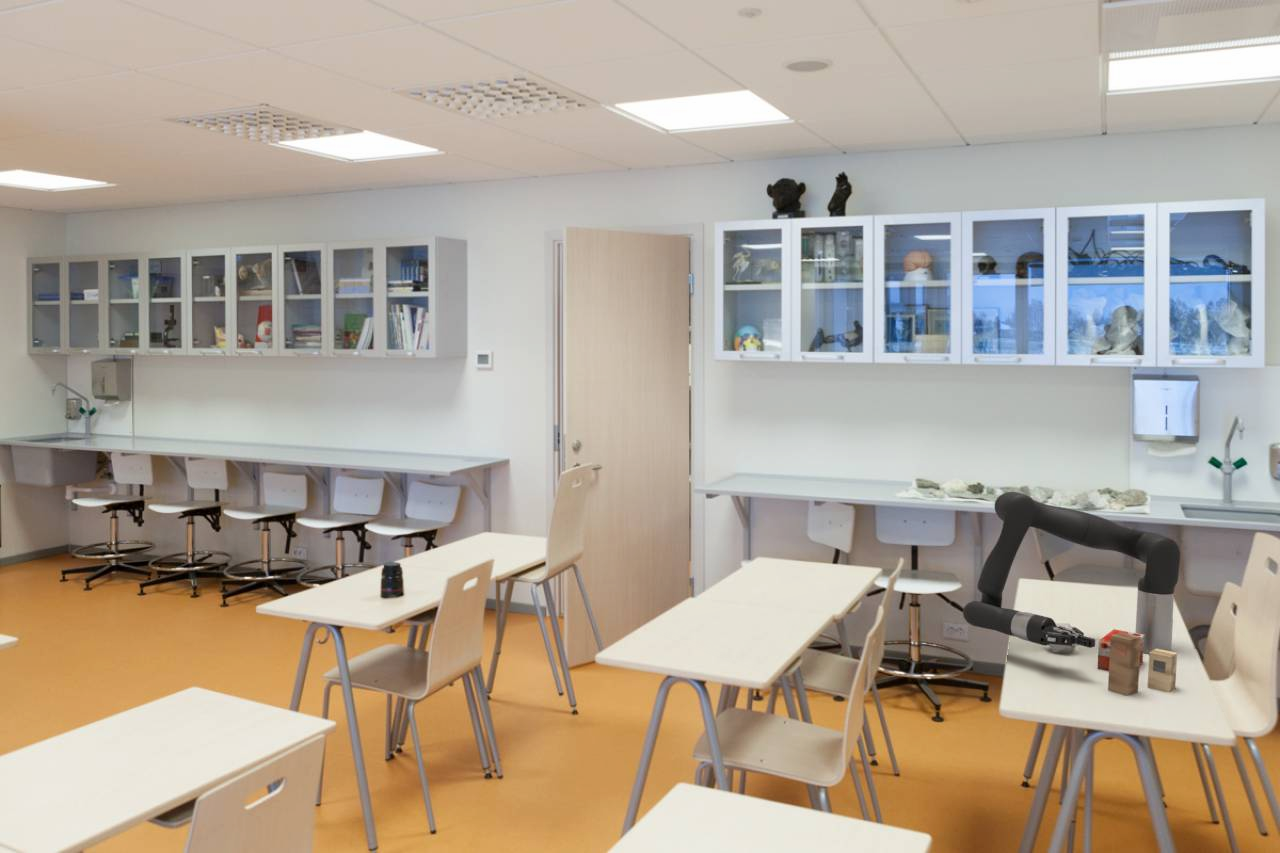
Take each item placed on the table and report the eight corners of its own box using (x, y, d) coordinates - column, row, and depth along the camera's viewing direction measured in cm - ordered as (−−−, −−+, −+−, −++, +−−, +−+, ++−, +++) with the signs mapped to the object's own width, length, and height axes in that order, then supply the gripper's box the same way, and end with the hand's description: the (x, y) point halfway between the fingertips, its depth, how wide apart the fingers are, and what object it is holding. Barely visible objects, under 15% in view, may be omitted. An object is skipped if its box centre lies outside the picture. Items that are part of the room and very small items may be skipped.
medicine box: (1129, 675, 269) (1131, 646, 268) (1096, 669, 274) (1098, 640, 273) (1143, 662, 281) (1145, 634, 280) (1112, 656, 286) (1113, 628, 285)
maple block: (1154, 682, 263) (1156, 648, 262) (1175, 687, 260) (1177, 652, 259) (1147, 687, 259) (1149, 652, 259) (1168, 692, 256) (1170, 657, 255)
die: (1074, 660, 284) (1089, 630, 286) (1046, 643, 285) (1061, 613, 287) (1062, 662, 291) (1076, 633, 294) (1035, 645, 293) (1049, 616, 295)
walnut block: (1118, 686, 260) (1121, 632, 259) (1137, 691, 256) (1140, 636, 255) (1107, 690, 257) (1110, 635, 256) (1127, 695, 253) (1130, 640, 252)
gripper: (1019, 617, 272) (1079, 633, 258) (1047, 610, 280) (1108, 625, 266) (1017, 645, 273) (1078, 662, 259) (1046, 637, 280) (1107, 653, 266)
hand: (1093, 643), depth 262 cm, fingers closed
